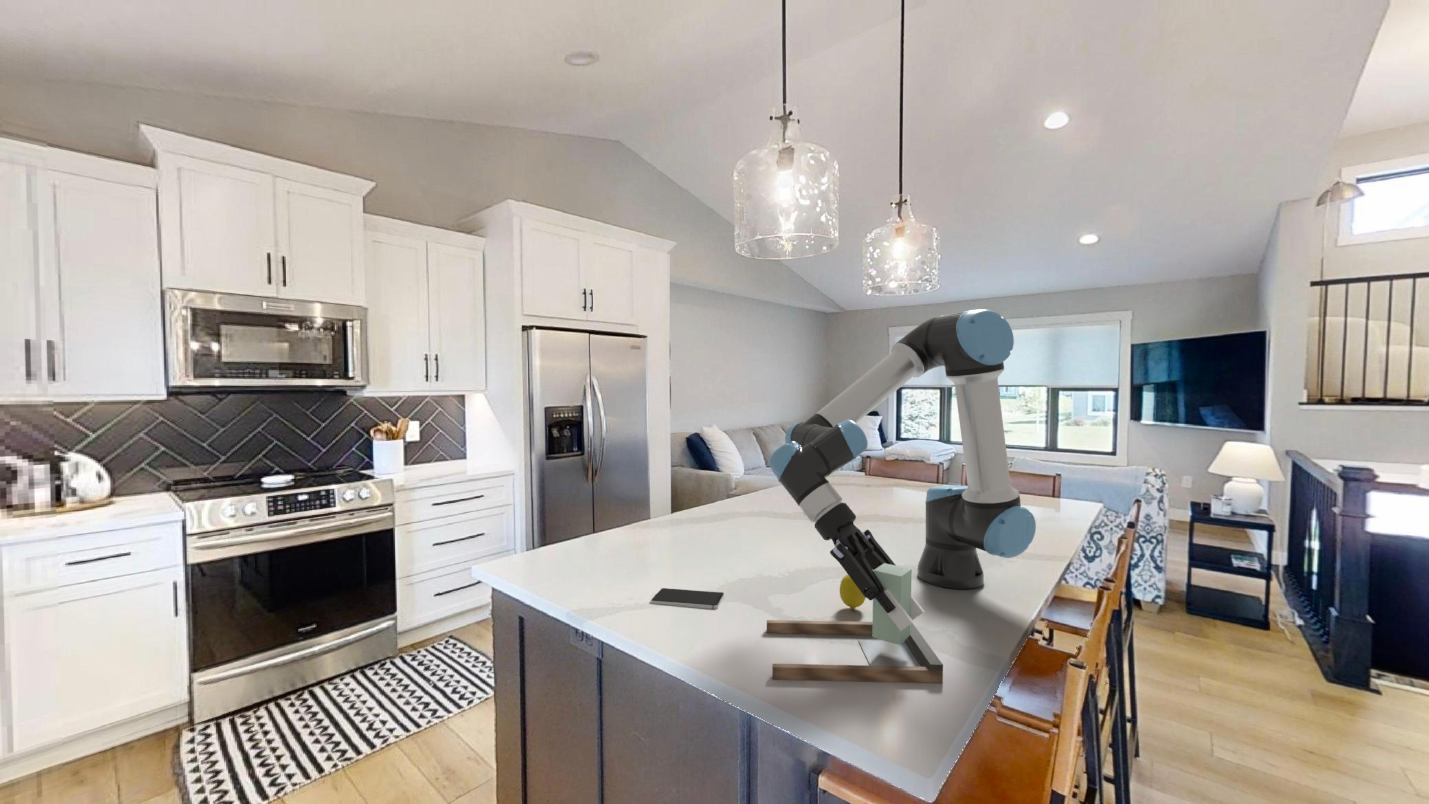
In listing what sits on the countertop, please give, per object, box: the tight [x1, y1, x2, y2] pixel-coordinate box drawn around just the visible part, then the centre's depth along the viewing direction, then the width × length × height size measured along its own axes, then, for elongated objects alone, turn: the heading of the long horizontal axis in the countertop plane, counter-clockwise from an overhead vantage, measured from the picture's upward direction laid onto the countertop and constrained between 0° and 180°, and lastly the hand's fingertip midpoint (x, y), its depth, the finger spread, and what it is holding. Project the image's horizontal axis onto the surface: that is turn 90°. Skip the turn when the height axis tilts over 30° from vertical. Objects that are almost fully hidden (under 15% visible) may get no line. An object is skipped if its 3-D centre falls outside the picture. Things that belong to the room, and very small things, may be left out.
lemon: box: [839, 574, 867, 610], centre depth 121 cm, size 6×6×8 cm
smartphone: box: [650, 587, 725, 610], centre depth 126 cm, size 8×1×15 cm
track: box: [766, 619, 944, 684], centre depth 101 cm, size 28×18×3 cm, turn 88°
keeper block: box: [871, 563, 912, 645], centre depth 101 cm, size 5×5×12 cm
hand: (912, 620), depth 98 cm, fingers closed on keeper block, 5 cm apart
